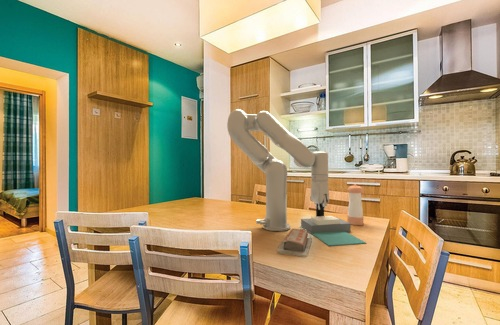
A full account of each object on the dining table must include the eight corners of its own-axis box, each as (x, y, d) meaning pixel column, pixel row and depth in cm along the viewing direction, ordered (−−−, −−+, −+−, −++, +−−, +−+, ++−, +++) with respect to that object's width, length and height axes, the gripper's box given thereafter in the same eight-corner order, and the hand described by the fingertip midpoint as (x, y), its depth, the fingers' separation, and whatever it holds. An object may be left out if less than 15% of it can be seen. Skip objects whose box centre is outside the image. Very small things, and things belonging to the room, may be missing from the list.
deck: (311, 233, 103) (311, 225, 103) (301, 226, 115) (301, 218, 115) (350, 231, 106) (350, 223, 106) (336, 224, 118) (336, 217, 118)
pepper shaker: (359, 221, 123) (358, 183, 123) (366, 225, 116) (366, 185, 116) (344, 221, 123) (344, 183, 123) (351, 225, 116) (351, 185, 116)
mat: (328, 246, 88) (328, 245, 88) (311, 233, 103) (311, 232, 103) (366, 243, 91) (366, 242, 91) (344, 231, 106) (344, 230, 106)
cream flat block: (318, 225, 104) (318, 220, 104) (311, 221, 111) (311, 216, 111) (339, 223, 106) (339, 219, 106) (331, 219, 112) (331, 215, 112)
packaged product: (286, 226, 99) (312, 228, 96) (286, 238, 99) (312, 241, 96) (276, 240, 82) (306, 243, 79) (276, 254, 82) (306, 258, 79)
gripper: (305, 177, 120) (306, 214, 120) (319, 179, 105) (320, 222, 105) (319, 176, 121) (320, 213, 121) (335, 179, 106) (336, 221, 106)
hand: (320, 217), depth 113 cm, fingers closed
